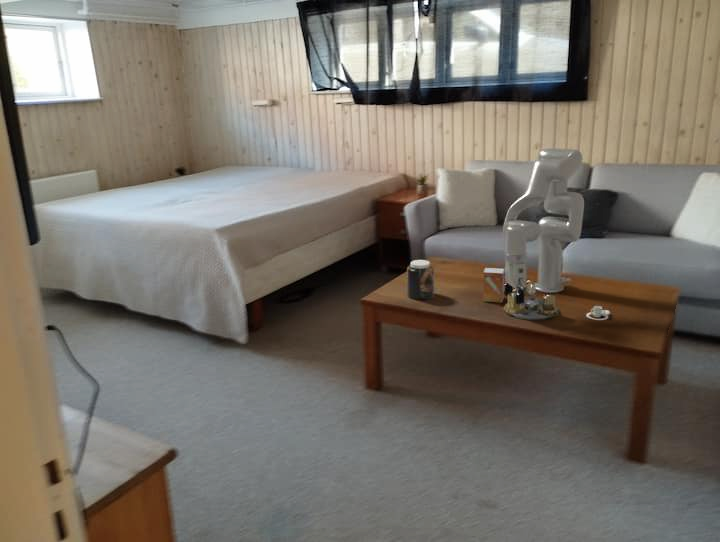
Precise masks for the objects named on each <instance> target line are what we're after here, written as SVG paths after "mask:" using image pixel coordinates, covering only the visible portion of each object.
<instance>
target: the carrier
mask: <svg viewBox="0 0 720 542" xmlns="http://www.w3.org/2000/svg"><path fill="white" fill-rule="evenodd" d="M534 284H535V283H533V284H532V283H531V284H530V293H529V294H530V295H529V296H530V298H524V303H522V304H521V306H524V311H522V313H516V314H513V313H507V314H508V315H509V316H511V317H514V318H516V319H520V320H526V321H546V320H549V319H553V318H555V317H556V316H558V314H559V312H560V309H559V308H558V306H557V305H556V296H555V295H553V294H544V295H542V299H539V298H538V299H536V298H535V295H536V293H535V292H536V291H535V290H536V289H535V285H534ZM516 293H517V292H515V293H512V296H516ZM506 304H508V302H507V303H506Z"/></svg>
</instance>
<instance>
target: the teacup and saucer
mask: <svg viewBox="0 0 720 542" xmlns="http://www.w3.org/2000/svg"><path fill="white" fill-rule="evenodd" d="M610 314H611V311H610V310H607V309H603V307H602V306H600V305H595V306H593V308H591V309H590V312H587V313H586V316H585V317H587V318H588V319H591V320H595V321H604V320H607V319H608V318H609V316H610ZM590 315H592V316H594V317H595V318H593V317H591V316H590ZM601 317H604V318H601Z"/></svg>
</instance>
